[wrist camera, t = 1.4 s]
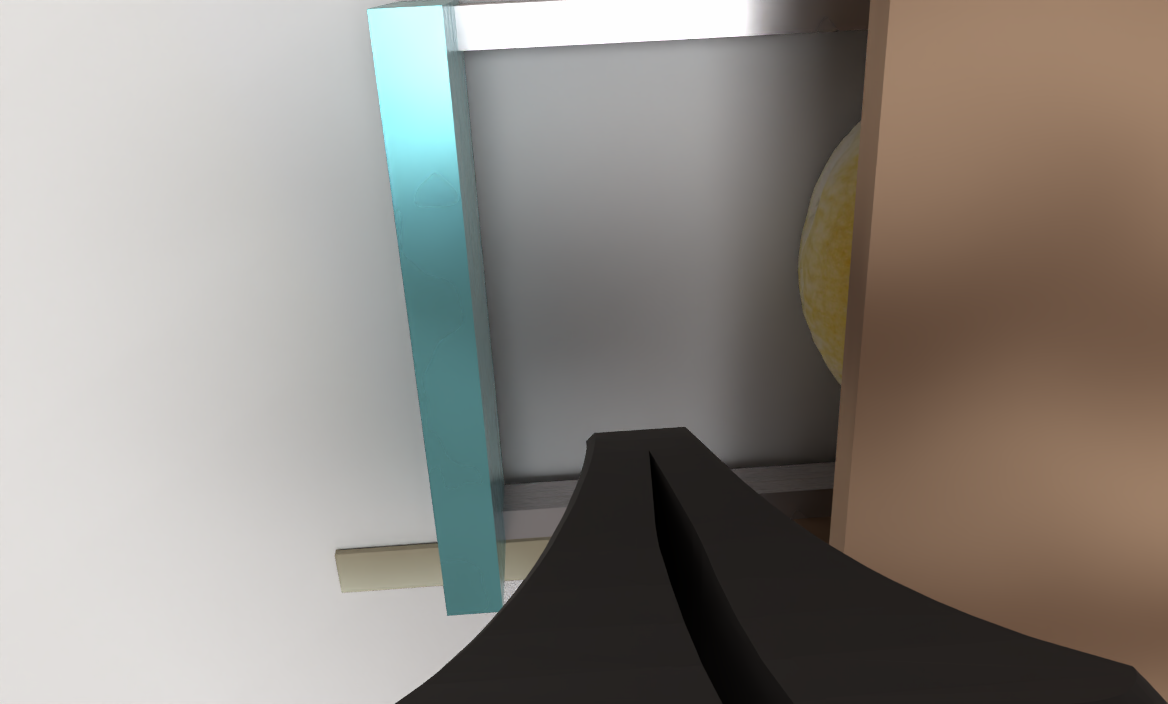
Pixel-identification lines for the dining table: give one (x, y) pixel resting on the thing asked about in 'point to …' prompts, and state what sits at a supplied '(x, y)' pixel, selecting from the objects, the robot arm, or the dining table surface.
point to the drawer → (455, 261)
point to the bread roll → (830, 252)
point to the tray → (996, 326)
